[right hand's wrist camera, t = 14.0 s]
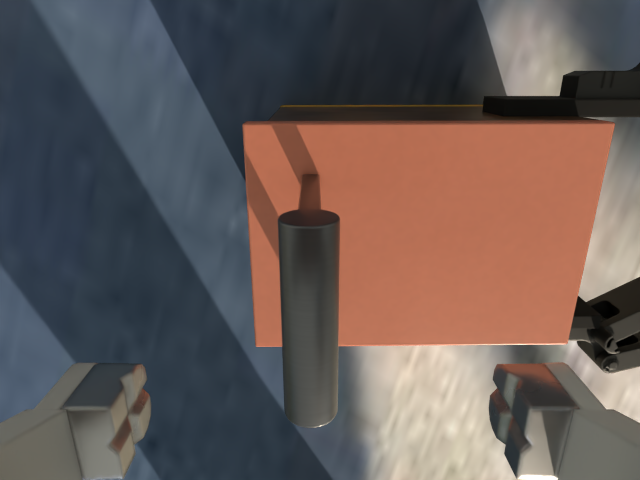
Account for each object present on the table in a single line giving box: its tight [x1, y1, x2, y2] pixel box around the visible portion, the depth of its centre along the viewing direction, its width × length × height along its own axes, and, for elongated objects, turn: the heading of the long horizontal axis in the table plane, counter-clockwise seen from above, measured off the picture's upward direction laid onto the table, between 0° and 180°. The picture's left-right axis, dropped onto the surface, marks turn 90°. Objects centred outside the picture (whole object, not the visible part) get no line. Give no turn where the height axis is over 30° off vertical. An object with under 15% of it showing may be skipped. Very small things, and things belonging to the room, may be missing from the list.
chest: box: [268, 105, 596, 121], centre depth 25 cm, size 14×10×9 cm
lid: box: [243, 120, 615, 428], centre depth 16 cm, size 14×10×8 cm
